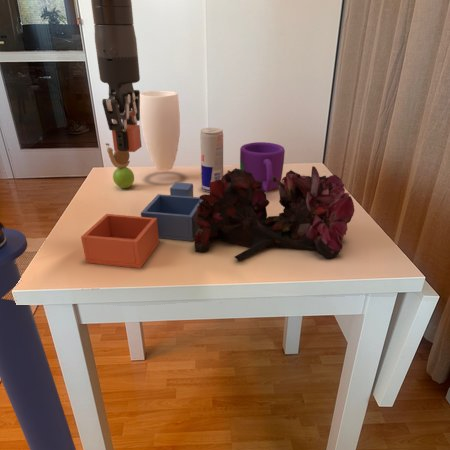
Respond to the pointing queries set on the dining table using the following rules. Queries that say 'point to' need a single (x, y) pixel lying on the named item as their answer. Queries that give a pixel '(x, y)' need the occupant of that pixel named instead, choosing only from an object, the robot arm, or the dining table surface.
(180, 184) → the blue block
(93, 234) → the terracotta bin
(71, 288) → the dining table surface
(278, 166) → the mug
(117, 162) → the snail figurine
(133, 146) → the terracotta block
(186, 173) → the dining table surface
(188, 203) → the blue bin
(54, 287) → the dining table surface
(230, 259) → the dining table surface
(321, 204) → the flower arrangement
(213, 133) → the beverage can
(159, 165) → the white vase
